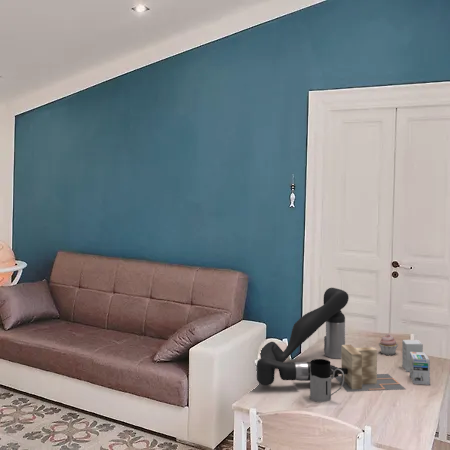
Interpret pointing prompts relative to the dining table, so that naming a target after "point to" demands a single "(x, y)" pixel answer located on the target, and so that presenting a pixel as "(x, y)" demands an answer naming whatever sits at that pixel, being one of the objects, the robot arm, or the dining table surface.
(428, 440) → the dining table surface
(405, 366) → the supplement box
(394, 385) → the charcoal board
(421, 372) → the light bulb box
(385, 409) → the dining table surface
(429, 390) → the dining table surface
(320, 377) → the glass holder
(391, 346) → the cupcake
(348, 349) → the maple T block
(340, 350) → the robot arm
